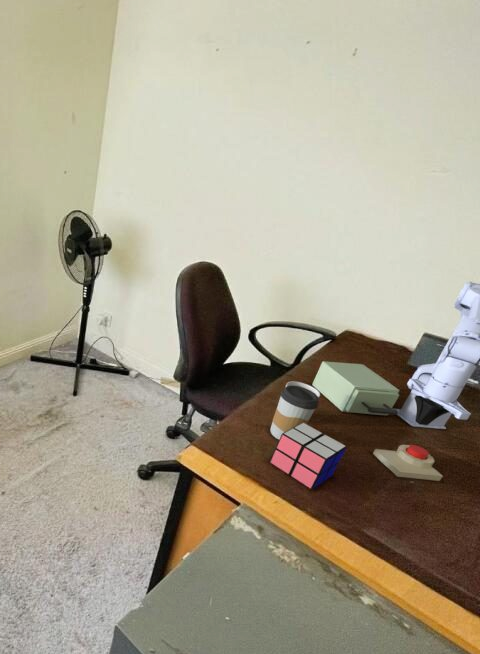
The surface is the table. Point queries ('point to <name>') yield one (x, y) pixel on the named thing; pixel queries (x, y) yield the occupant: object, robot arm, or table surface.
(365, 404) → the pull-out drawer
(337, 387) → the mint drawer box
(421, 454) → the button
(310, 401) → the coffee cup
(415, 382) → the robot arm
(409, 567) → the table surface
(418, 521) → the table surface
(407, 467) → the control block
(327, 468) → the puzzle cube
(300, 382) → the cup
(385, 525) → the table surface
